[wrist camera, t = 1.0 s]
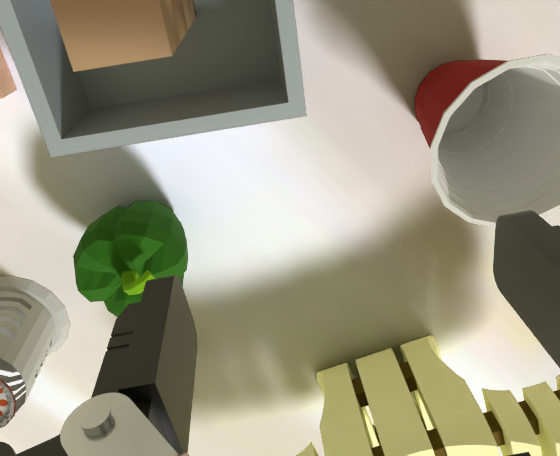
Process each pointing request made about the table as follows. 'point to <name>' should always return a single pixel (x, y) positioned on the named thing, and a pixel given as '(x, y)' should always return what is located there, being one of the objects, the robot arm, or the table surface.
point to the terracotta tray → (5, 78)
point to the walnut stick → (121, 30)
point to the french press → (26, 336)
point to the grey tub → (161, 77)
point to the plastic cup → (493, 136)
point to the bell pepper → (129, 253)
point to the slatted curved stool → (429, 410)
